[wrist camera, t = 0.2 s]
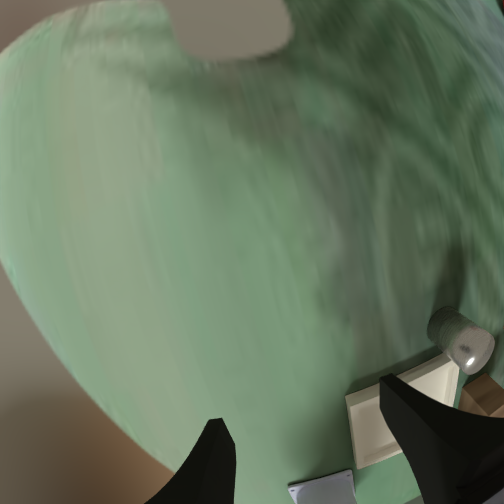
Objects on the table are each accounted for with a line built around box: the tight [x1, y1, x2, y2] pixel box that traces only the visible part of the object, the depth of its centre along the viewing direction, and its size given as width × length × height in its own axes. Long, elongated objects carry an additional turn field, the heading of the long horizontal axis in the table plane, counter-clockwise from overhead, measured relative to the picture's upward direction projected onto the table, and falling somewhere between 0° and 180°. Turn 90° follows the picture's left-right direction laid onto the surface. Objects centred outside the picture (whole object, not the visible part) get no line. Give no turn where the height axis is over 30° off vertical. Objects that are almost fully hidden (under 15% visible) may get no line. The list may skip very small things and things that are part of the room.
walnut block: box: [458, 373, 504, 418], centre depth 21 cm, size 4×4×6 cm
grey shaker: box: [427, 306, 495, 375], centre depth 19 cm, size 4×4×6 cm
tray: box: [345, 353, 459, 469], centre depth 23 cm, size 12×12×2 cm
